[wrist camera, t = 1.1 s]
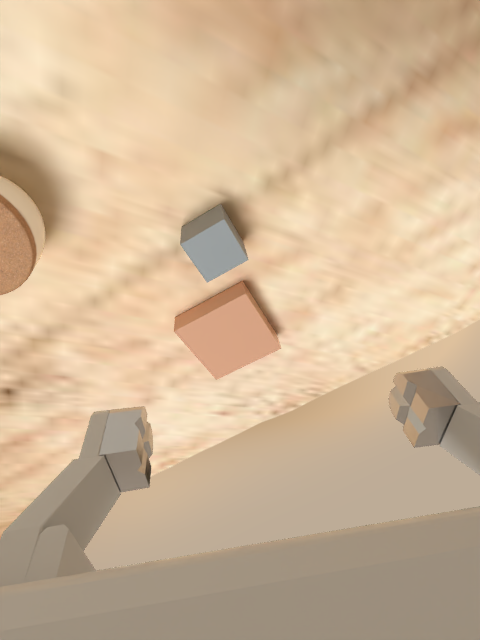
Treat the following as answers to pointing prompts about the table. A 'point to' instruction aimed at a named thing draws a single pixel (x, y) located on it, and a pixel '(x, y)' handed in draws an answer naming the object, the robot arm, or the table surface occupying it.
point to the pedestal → (227, 331)
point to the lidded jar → (18, 236)
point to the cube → (213, 243)
